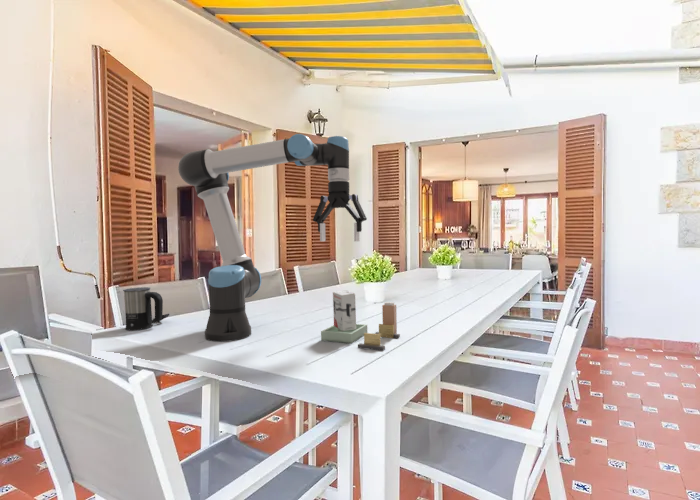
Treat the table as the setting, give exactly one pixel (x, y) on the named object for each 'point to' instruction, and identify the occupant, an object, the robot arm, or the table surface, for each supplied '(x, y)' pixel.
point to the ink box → (344, 310)
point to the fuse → (390, 315)
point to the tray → (343, 334)
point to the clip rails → (384, 331)
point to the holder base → (375, 347)
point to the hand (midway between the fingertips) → (339, 241)
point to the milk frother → (142, 308)
